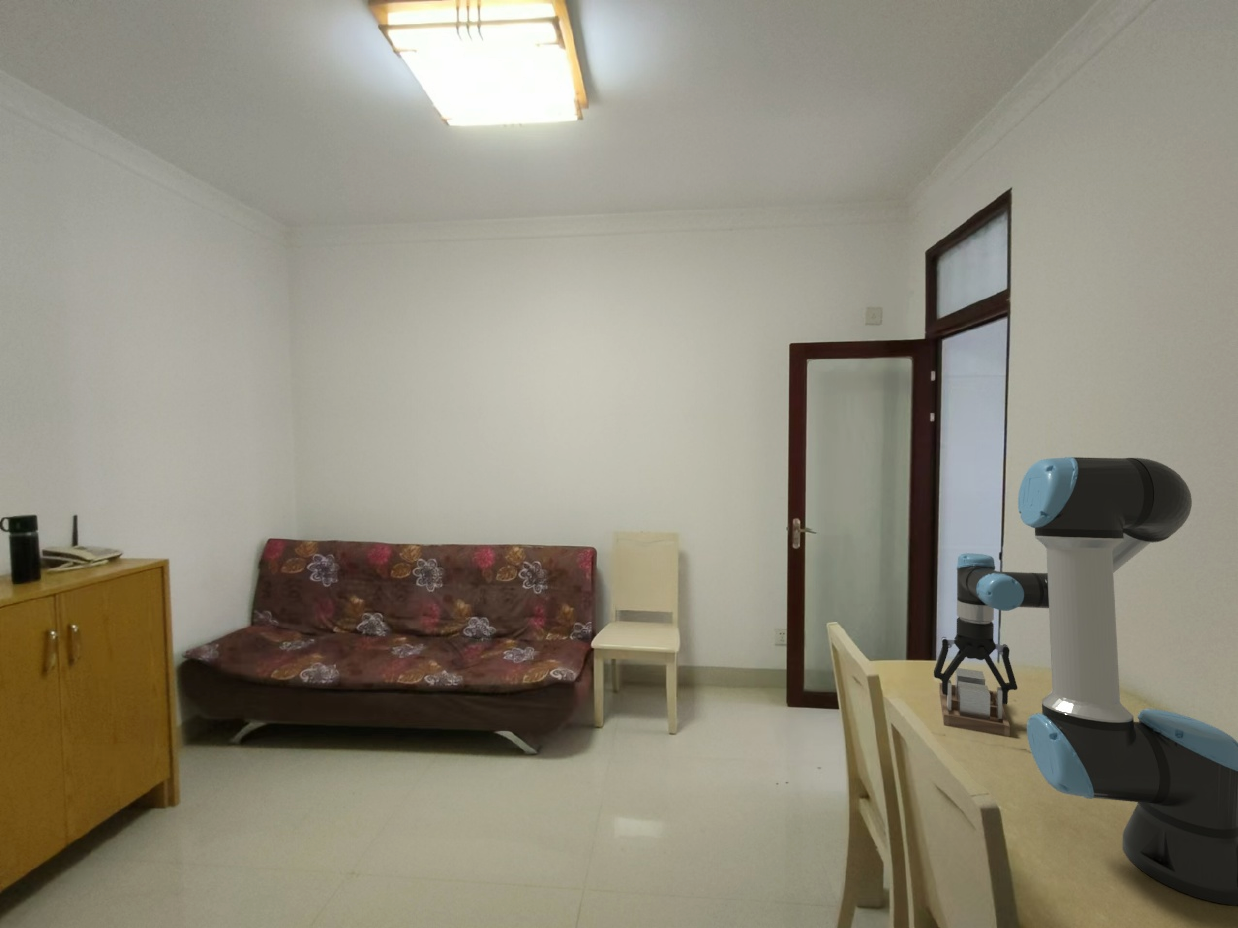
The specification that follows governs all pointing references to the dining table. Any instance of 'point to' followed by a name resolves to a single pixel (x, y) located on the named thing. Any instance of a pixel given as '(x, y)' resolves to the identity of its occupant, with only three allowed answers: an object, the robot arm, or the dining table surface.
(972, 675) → the block
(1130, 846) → the robot arm
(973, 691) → the block
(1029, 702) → the dining table surface
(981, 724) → the wooden cubby shelf
